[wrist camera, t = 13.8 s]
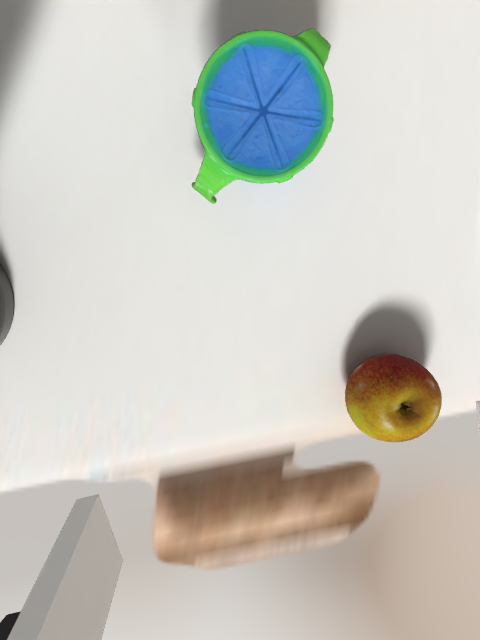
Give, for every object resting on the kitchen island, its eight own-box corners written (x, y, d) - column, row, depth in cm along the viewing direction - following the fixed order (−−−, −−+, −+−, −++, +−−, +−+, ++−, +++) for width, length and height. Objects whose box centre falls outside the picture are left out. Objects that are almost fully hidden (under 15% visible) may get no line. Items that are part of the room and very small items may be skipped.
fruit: (422, 344, 47) (462, 368, 40) (416, 418, 50) (453, 455, 42) (337, 347, 47) (362, 372, 39) (335, 422, 49) (357, 460, 41)
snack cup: (233, 231, 43) (238, 234, 34) (157, 151, 41) (139, 130, 31) (347, 117, 41) (388, 85, 32) (274, 28, 39) (294, -36, 29)
